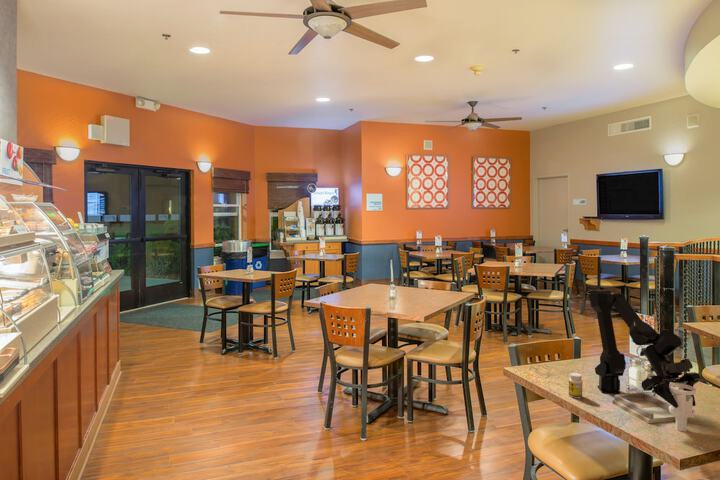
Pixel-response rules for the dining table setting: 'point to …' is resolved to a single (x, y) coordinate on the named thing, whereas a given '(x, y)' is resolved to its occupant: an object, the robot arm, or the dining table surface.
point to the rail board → (644, 407)
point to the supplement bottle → (575, 385)
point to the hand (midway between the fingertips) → (685, 406)
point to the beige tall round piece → (682, 404)
